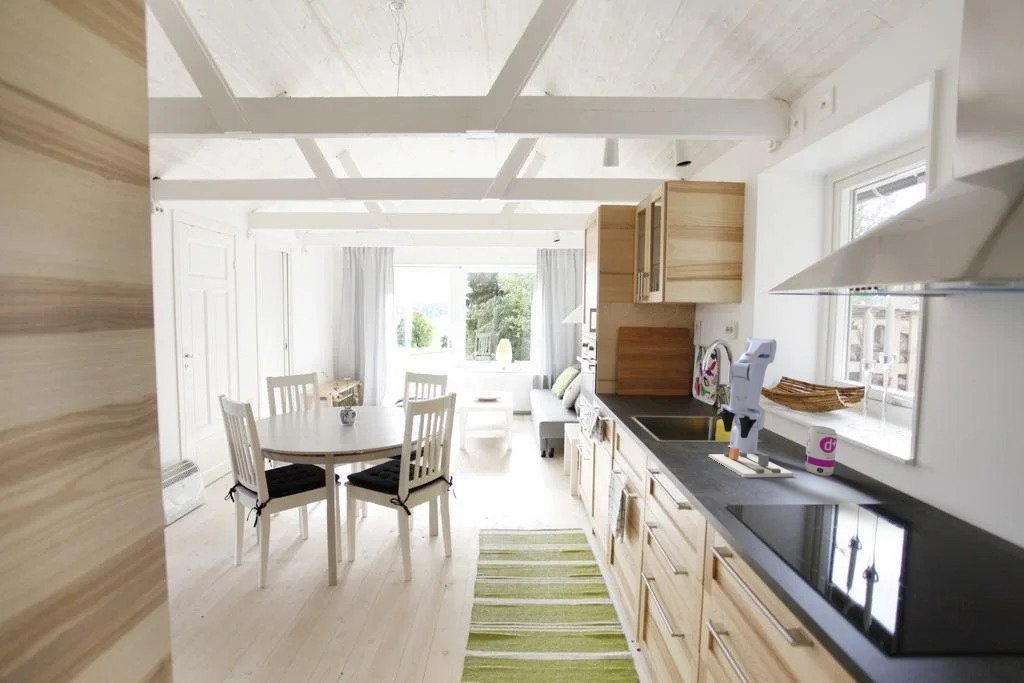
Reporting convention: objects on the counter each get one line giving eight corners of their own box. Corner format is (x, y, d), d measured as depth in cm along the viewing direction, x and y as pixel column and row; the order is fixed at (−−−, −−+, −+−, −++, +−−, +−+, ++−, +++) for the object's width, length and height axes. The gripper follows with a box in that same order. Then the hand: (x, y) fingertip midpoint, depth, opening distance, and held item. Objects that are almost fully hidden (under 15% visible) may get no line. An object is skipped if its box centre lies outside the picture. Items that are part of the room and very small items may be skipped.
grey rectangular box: (757, 463, 158) (758, 453, 158) (763, 463, 159) (764, 453, 159) (762, 466, 156) (763, 455, 156) (768, 466, 157) (769, 455, 156)
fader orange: (728, 457, 164) (729, 447, 164) (734, 457, 165) (734, 447, 164) (733, 459, 162) (734, 449, 162) (738, 459, 162) (739, 449, 162)
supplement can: (838, 477, 154) (843, 432, 153) (813, 475, 154) (818, 431, 153) (822, 468, 162) (827, 426, 161) (798, 467, 162) (803, 424, 161)
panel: (708, 457, 168) (708, 451, 167) (752, 457, 171) (753, 450, 171) (743, 477, 149) (744, 470, 149) (792, 476, 152) (793, 469, 152)
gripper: (715, 392, 169) (711, 429, 170) (746, 401, 156) (742, 441, 157) (731, 392, 171) (727, 428, 173) (762, 400, 158) (759, 440, 159)
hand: (735, 434), depth 165 cm, fingers open, 7 cm apart
